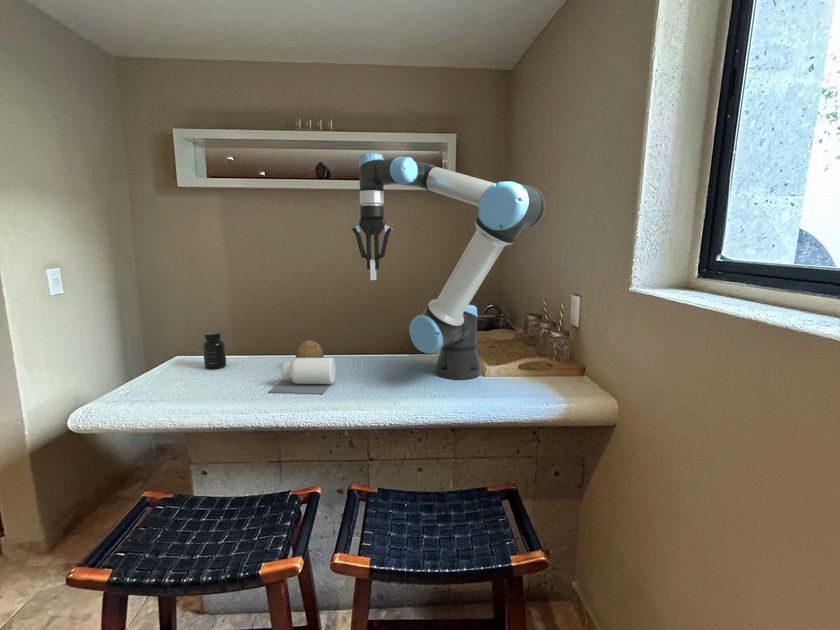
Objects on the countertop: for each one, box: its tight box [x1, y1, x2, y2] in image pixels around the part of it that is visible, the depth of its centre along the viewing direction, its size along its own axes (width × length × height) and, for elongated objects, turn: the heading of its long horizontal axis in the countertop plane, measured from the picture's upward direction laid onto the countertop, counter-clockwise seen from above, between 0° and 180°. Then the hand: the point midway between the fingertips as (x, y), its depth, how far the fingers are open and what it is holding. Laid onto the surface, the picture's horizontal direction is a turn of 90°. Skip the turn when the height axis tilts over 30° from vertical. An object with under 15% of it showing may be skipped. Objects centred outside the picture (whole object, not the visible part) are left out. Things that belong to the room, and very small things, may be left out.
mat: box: [267, 378, 331, 395], centre depth 136 cm, size 16×14×1 cm
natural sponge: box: [295, 339, 325, 359], centre depth 151 cm, size 9×9×10 cm
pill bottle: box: [281, 357, 337, 385], centre depth 137 cm, size 8×8×15 cm
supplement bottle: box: [202, 331, 227, 371], centre depth 153 cm, size 7×7×12 cm
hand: (373, 279), depth 147 cm, fingers closed
